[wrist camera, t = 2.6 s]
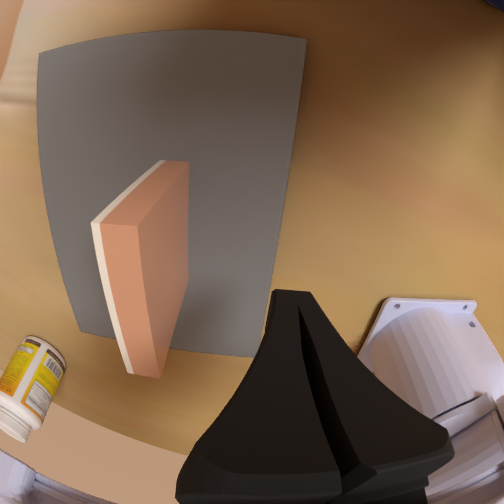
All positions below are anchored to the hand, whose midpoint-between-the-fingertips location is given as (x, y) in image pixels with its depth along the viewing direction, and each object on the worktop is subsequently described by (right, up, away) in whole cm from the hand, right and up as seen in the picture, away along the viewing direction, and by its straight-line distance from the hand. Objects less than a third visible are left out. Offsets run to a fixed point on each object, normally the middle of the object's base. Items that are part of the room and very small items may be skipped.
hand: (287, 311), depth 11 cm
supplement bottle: (-22, -8, +13) cm, 27 cm away
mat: (-7, +4, +5) cm, 10 cm away
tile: (-5, +4, +5) cm, 8 cm away
